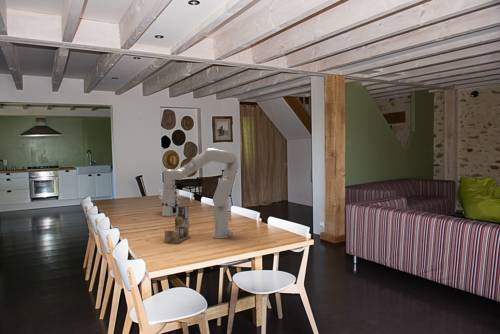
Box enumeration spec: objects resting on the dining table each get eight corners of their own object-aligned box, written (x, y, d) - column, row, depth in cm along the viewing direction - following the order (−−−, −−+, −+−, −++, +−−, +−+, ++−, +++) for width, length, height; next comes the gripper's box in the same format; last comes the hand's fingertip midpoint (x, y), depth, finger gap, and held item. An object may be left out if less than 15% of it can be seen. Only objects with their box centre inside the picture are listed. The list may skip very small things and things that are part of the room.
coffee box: (189, 226, 288) (188, 205, 287) (185, 228, 282) (185, 207, 281) (178, 225, 291) (178, 205, 290) (174, 227, 284) (174, 206, 283)
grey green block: (178, 213, 257) (177, 204, 257) (169, 216, 248) (169, 207, 248) (171, 212, 260) (170, 204, 259) (162, 215, 251) (162, 206, 250)
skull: (156, 214, 340) (155, 189, 339) (175, 212, 349) (175, 188, 348) (163, 218, 318) (162, 192, 317) (184, 216, 327) (183, 191, 326)
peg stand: (190, 238, 251) (189, 226, 251) (178, 244, 236) (177, 232, 236) (176, 236, 255) (176, 225, 254) (163, 242, 240) (163, 230, 239)
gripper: (183, 186, 253) (184, 212, 254) (162, 186, 259) (163, 211, 260) (177, 187, 246) (178, 214, 247) (155, 187, 252) (156, 213, 253)
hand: (170, 212), depth 254 cm, fingers closed on grey green block, 6 cm apart
